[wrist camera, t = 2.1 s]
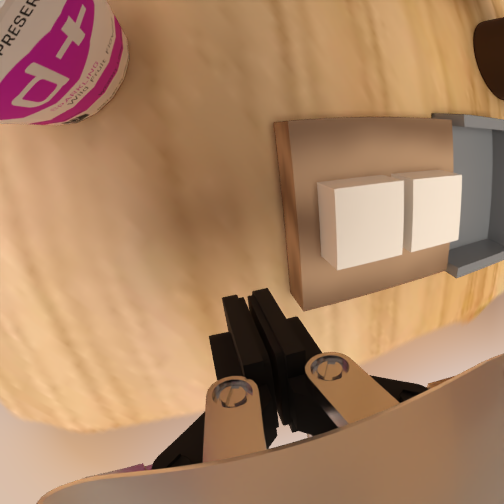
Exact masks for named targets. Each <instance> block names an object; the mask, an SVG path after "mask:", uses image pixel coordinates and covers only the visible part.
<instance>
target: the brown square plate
mask: <svg viewBox="0 0 504 504" xmlns="http://www.w3.org/2000/svg"><path fill="white" fill-rule="evenodd" d="M274 129H275V137H276V146H277V154H278V164H279V173H280V182H281V192H282V202H283V212H284V222H285V233H286V244H287V255H288V267H289V279H290V292H291V294H292V296H293V297H294V298H295V300H296V301H297V303H298V304H299V306H300V307H301V308H302V310H303V311H307V310H311V309H315V308H319V307H323V306H327V305H331V304H334V303H338V302H342V301H346V300H349V299H353V298H356V297H360V296H364V295H367V294H371V293H374V292H378V291H381V290H384V289H388V288H391V287H395V286H398V285H401V284H405V283H408V282H411V281H414V280H417V279H421V278H424V277H427V276H430V275H433V274H436V273H439V272H442V271H445V270H447V263H448V255H449V245H450V242H449V243H445V244H441V245H437V246H434V247H430V248H426V249H422V250H418V251H414V252H410V251H408V250H406V249H404V248H403V250H402V255H399V256H395V257H391V258H387V259H383V260H379V261H375V262H371V263H366V264H362V265H358V266H354V267H350V268H345V269H341V270H336V269H335V268H334V267H333V266H332V265H331V264H330V263H329V262H327V261H326V260H325V259H324V258H323V257H322V256H321V240H320V221H319V205H318V191H317V182H324V181H332V180H340V179H348V178H357V177H366V176H375V175H385V176H389V177H391V174H395V173H405V172H416V171H428V170H444V171H448V172H452V173H453V131H452V120H447V119H431V118H406V117H351V118H324V119H307V120H293V121H283V122H276V123H274Z"/></svg>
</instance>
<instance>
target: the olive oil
mask: <svg viewBox="0 0 504 504" xmlns="http://www.w3.org/2000/svg"><path fill="white" fill-rule="evenodd" d="M474 49H475V55H476V59H477V63H478V66H479V69H480V71H481V74H482V76H483V78H484V80H485V82H486V84H487V85H488V87H489V88H490V90H491V91H492V92H493V93H494V94H495V95H496V96H497V97H498V98H500V99H502V100H504V17H503V18H498V19H493V20H488V21H484V22H481V23H480V24H479V25H478V26H477V28H476V30H475V35H474Z"/></svg>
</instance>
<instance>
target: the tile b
mask: <svg viewBox="0 0 504 504" xmlns="http://www.w3.org/2000/svg"><path fill="white" fill-rule="evenodd" d="M391 177H393V178H396V179H400V180H404V227H403V248H404V249H406V250H408V251H410V252H414V251H418V250H422V249H426V248H430V247H434V246H437V245H441V244H445V243H449V242H452V241H456V240H458V237H459V226H460V212H461V193H462V175H460V174H456V173H452V172H448V171H444V170H428V171H416V172H405V173H395V174H391Z"/></svg>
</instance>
